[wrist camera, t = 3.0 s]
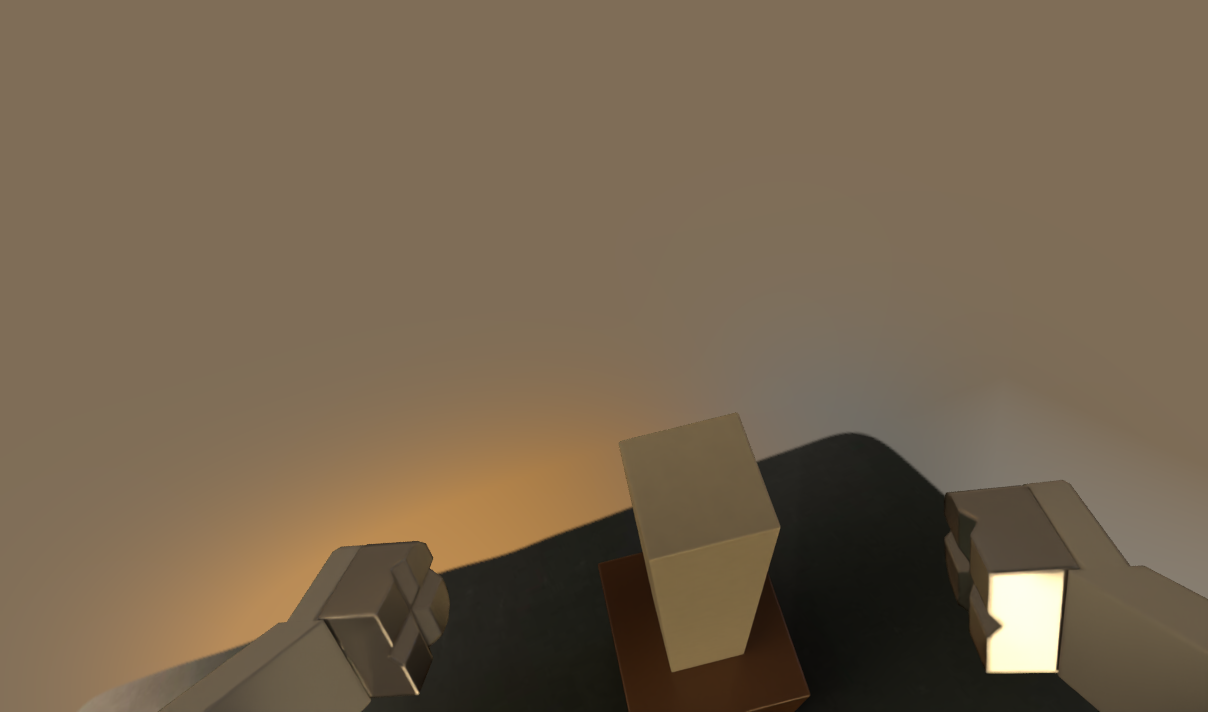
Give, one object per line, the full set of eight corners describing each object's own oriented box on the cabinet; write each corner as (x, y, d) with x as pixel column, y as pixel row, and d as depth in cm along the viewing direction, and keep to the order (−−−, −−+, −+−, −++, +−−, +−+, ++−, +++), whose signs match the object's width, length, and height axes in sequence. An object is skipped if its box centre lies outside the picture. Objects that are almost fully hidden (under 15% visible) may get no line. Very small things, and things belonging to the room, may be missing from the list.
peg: (744, 654, 28) (781, 527, 15) (671, 672, 27) (648, 561, 15) (721, 580, 29) (738, 410, 17) (652, 597, 29) (617, 440, 17)
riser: (777, 729, 38) (811, 695, 26) (654, 761, 38) (634, 741, 26) (737, 602, 42) (751, 524, 30) (625, 630, 42) (597, 563, 30)
